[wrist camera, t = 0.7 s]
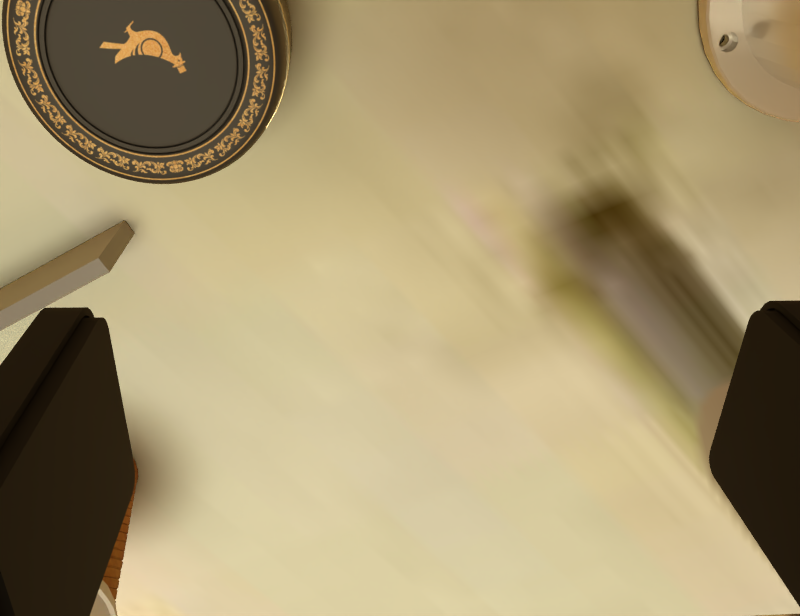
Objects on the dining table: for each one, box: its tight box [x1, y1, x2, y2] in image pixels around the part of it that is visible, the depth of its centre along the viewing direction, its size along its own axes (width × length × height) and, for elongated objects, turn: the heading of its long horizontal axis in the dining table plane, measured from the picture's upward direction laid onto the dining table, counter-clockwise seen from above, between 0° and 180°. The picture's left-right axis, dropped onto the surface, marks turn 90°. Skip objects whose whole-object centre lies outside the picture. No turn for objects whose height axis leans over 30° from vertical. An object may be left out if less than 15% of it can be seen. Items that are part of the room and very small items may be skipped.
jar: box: [2, 0, 292, 184], centre depth 29 cm, size 10×10×8 cm
